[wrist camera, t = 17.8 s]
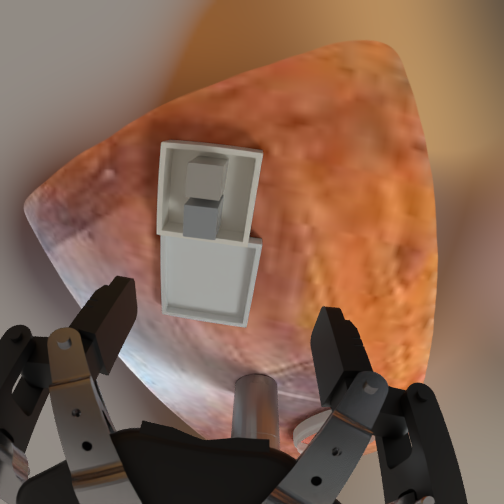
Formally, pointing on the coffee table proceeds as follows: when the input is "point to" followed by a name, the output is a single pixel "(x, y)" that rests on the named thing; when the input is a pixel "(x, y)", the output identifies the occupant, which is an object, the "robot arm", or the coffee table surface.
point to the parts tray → (208, 279)
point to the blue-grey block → (202, 218)
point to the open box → (235, 194)
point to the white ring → (311, 429)
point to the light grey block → (206, 177)
